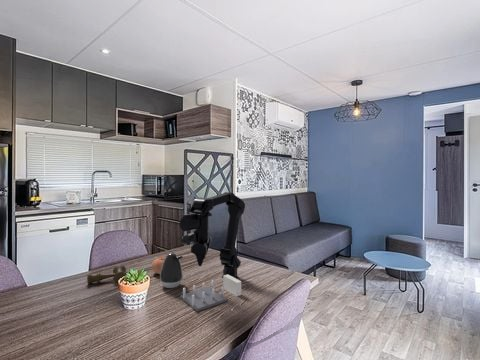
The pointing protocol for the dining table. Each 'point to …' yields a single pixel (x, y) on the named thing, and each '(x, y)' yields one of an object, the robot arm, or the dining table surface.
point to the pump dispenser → (171, 271)
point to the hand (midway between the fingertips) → (201, 262)
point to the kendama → (108, 275)
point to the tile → (232, 285)
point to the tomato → (157, 265)
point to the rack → (203, 297)
